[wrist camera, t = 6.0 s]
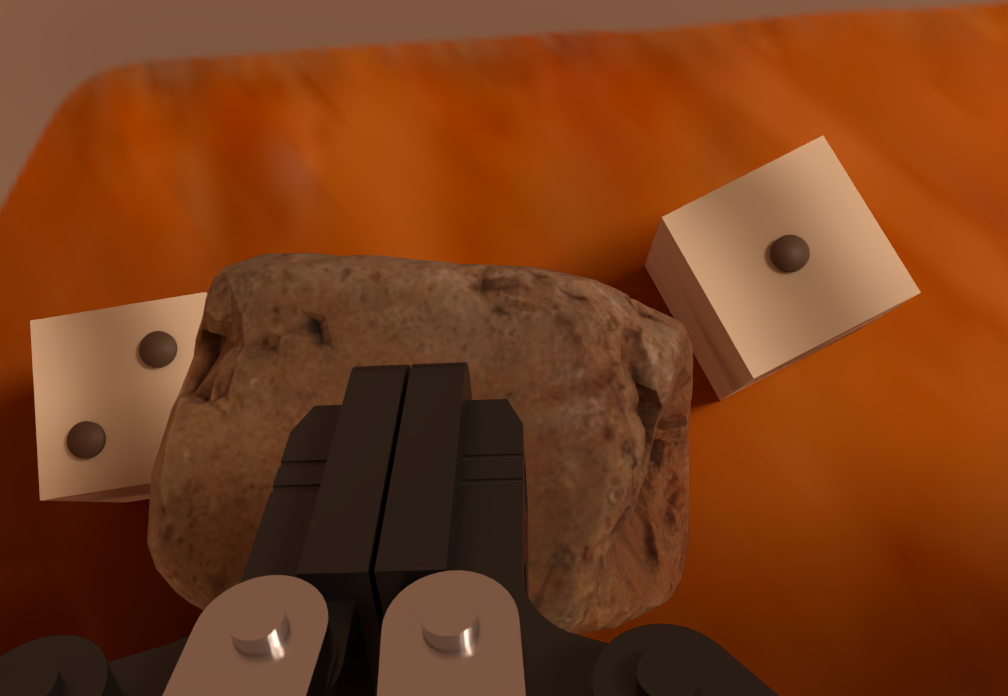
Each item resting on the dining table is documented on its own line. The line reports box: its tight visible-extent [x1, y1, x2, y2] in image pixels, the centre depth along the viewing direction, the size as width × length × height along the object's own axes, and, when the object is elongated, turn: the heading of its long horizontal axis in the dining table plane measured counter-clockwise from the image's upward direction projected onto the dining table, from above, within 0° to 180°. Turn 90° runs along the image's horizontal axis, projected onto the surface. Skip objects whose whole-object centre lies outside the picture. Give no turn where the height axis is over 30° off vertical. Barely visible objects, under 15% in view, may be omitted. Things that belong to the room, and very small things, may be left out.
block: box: [147, 253, 693, 634], centre depth 24 cm, size 11×8×20 cm
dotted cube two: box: [30, 292, 208, 502], centre depth 32 cm, size 6×6×6 cm
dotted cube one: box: [644, 136, 921, 401], centre depth 32 cm, size 6×6×6 cm
